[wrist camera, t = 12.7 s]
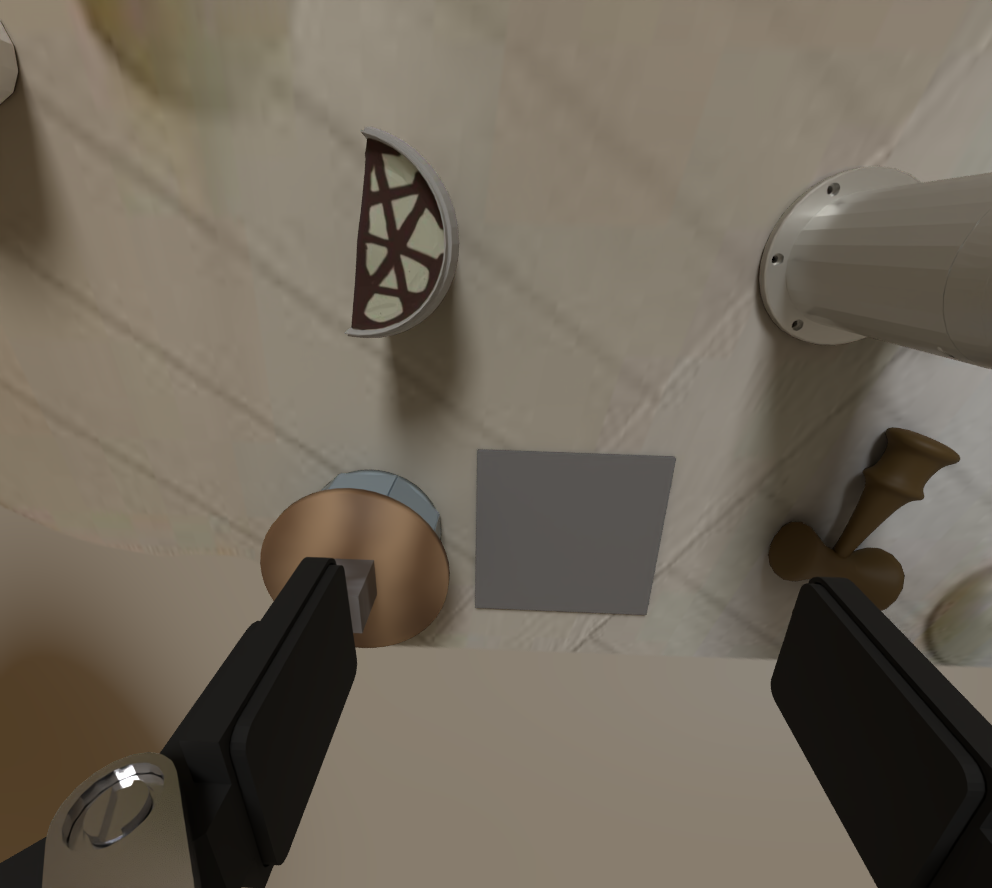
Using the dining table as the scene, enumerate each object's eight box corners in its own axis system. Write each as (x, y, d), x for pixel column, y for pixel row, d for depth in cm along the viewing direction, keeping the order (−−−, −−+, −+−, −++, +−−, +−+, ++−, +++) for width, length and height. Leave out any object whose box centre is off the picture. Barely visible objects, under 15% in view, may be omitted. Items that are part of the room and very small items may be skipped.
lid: (448, 491, 39) (438, 528, 34) (450, 642, 45) (443, 694, 40) (251, 484, 39) (212, 520, 34) (280, 636, 45) (251, 685, 40)
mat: (674, 456, 44) (676, 458, 44) (645, 611, 51) (646, 614, 50) (477, 449, 44) (477, 451, 44) (475, 604, 51) (475, 607, 51)
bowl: (440, 472, 45) (429, 507, 39) (442, 584, 50) (433, 630, 44) (303, 467, 46) (271, 501, 40) (318, 578, 51) (292, 624, 45)
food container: (455, 334, 40) (438, 361, 31) (382, 319, 40) (343, 341, 31) (482, 169, 36) (473, 144, 26) (400, 150, 35) (361, 118, 26)
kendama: (947, 444, 43) (819, 610, 50) (853, 406, 43) (736, 581, 50) (1010, 470, 38) (856, 654, 45) (904, 428, 37) (764, 621, 44)
